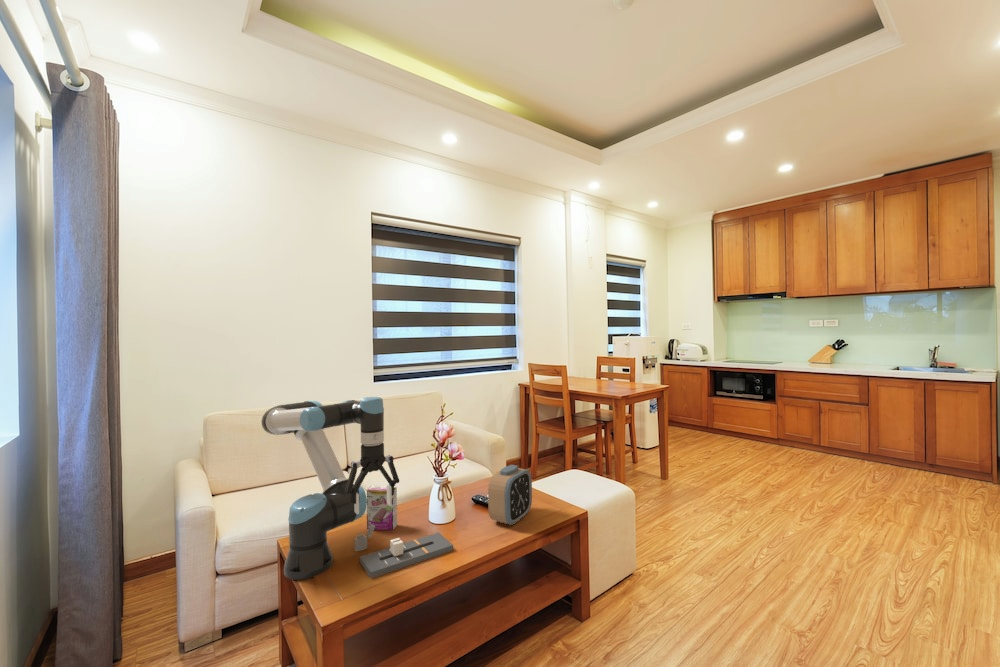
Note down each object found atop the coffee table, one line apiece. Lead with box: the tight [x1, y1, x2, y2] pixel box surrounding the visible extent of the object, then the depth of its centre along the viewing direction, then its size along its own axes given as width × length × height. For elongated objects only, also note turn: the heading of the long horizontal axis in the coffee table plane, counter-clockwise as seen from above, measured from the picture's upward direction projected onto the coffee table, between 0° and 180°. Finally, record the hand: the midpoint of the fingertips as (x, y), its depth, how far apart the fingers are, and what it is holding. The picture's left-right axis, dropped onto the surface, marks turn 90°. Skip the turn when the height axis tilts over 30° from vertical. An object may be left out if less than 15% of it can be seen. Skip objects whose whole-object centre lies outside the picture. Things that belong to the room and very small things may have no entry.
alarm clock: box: [487, 464, 533, 526], centre depth 178 cm, size 21×10×22 cm, turn 148°
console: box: [359, 532, 454, 579], centre depth 149 cm, size 30×12×2 cm, turn 124°
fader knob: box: [389, 537, 404, 557], centre depth 147 cm, size 3×4×6 cm
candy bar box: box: [366, 485, 398, 531], centre depth 172 cm, size 11×5×16 cm, turn 84°
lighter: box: [354, 524, 375, 552], centre depth 156 cm, size 7×2×8 cm, turn 117°
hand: (373, 508), depth 143 cm, fingers open, 10 cm apart
